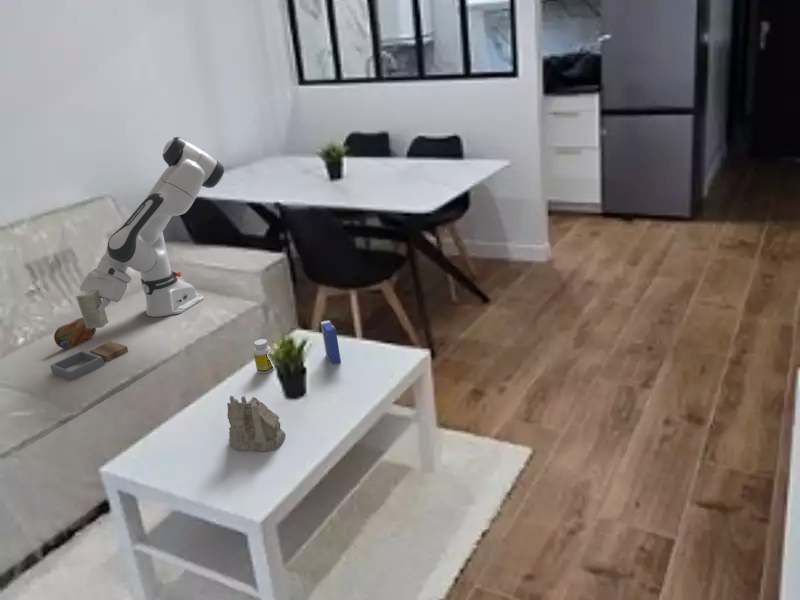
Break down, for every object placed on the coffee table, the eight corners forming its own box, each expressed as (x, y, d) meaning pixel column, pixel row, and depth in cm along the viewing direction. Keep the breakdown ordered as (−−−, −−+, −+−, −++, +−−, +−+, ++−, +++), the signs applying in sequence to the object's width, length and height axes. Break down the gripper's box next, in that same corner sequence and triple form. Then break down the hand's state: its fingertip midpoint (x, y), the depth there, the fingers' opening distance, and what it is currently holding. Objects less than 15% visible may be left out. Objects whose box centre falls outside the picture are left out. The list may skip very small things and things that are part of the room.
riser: (111, 346, 262) (110, 341, 261) (128, 351, 256) (126, 346, 256) (91, 355, 256) (89, 350, 256) (108, 361, 251) (106, 356, 250)
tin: (61, 352, 262) (54, 331, 259) (56, 351, 264) (49, 329, 260) (99, 335, 273) (92, 314, 269) (94, 334, 274) (88, 313, 271)
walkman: (341, 362, 231) (335, 327, 227) (332, 364, 231) (326, 329, 226) (334, 352, 238) (328, 318, 234) (325, 354, 238) (320, 320, 233)
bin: (84, 357, 256) (82, 350, 254) (104, 364, 249) (102, 356, 248) (52, 373, 247) (49, 365, 246) (72, 381, 240) (69, 372, 239)
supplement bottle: (271, 374, 229) (265, 345, 226) (254, 374, 231) (248, 346, 227) (277, 365, 234) (271, 337, 230) (261, 365, 235) (255, 338, 232)
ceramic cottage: (273, 455, 188) (262, 402, 183) (218, 450, 194) (206, 399, 189) (301, 424, 202) (291, 374, 197) (248, 421, 208) (238, 372, 203)
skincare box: (108, 322, 253) (99, 289, 249) (102, 328, 249) (93, 294, 245) (91, 323, 254) (82, 290, 249) (85, 328, 250) (75, 295, 245)
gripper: (86, 264, 256) (68, 300, 253) (119, 272, 244) (101, 310, 241) (101, 271, 261) (83, 307, 258) (134, 279, 249) (116, 317, 246)
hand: (92, 309), depth 249 cm, fingers closed on skincare box, 7 cm apart
